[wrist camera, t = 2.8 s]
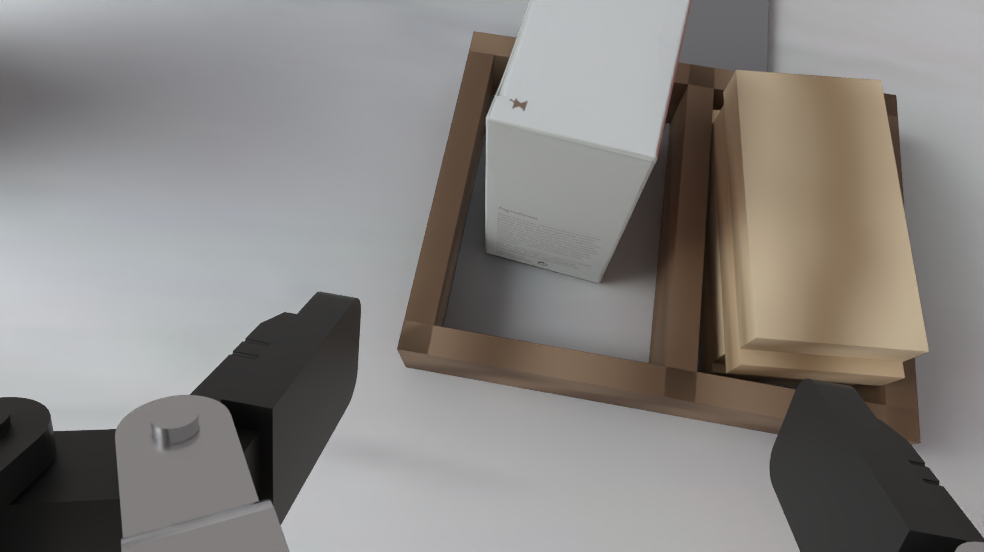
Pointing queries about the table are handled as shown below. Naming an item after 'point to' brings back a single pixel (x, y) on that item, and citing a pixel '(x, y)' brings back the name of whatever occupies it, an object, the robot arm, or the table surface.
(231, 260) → the table surface
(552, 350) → the walnut rack
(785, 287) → the offcut stack
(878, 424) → the robot arm
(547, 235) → the small box
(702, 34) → the charcoal mat
